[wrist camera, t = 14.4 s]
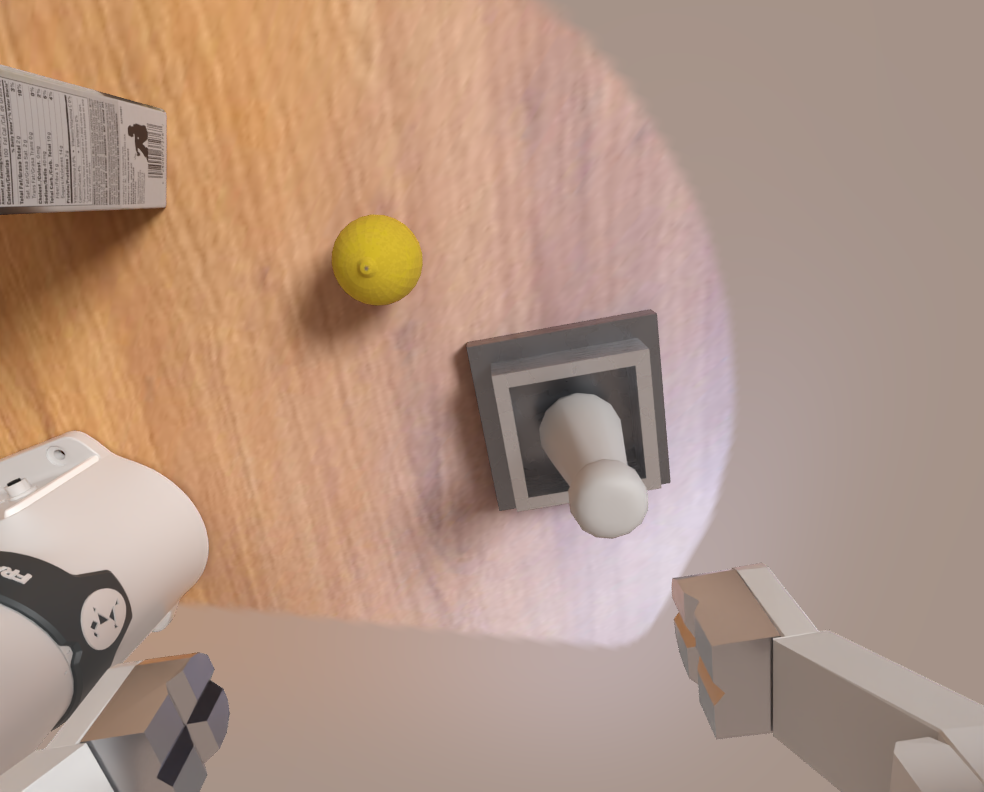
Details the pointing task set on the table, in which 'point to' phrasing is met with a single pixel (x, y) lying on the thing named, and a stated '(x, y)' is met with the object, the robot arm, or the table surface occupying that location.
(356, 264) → the lemon
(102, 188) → the coffee box
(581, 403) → the salt shaker
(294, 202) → the table surface
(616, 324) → the socket block
